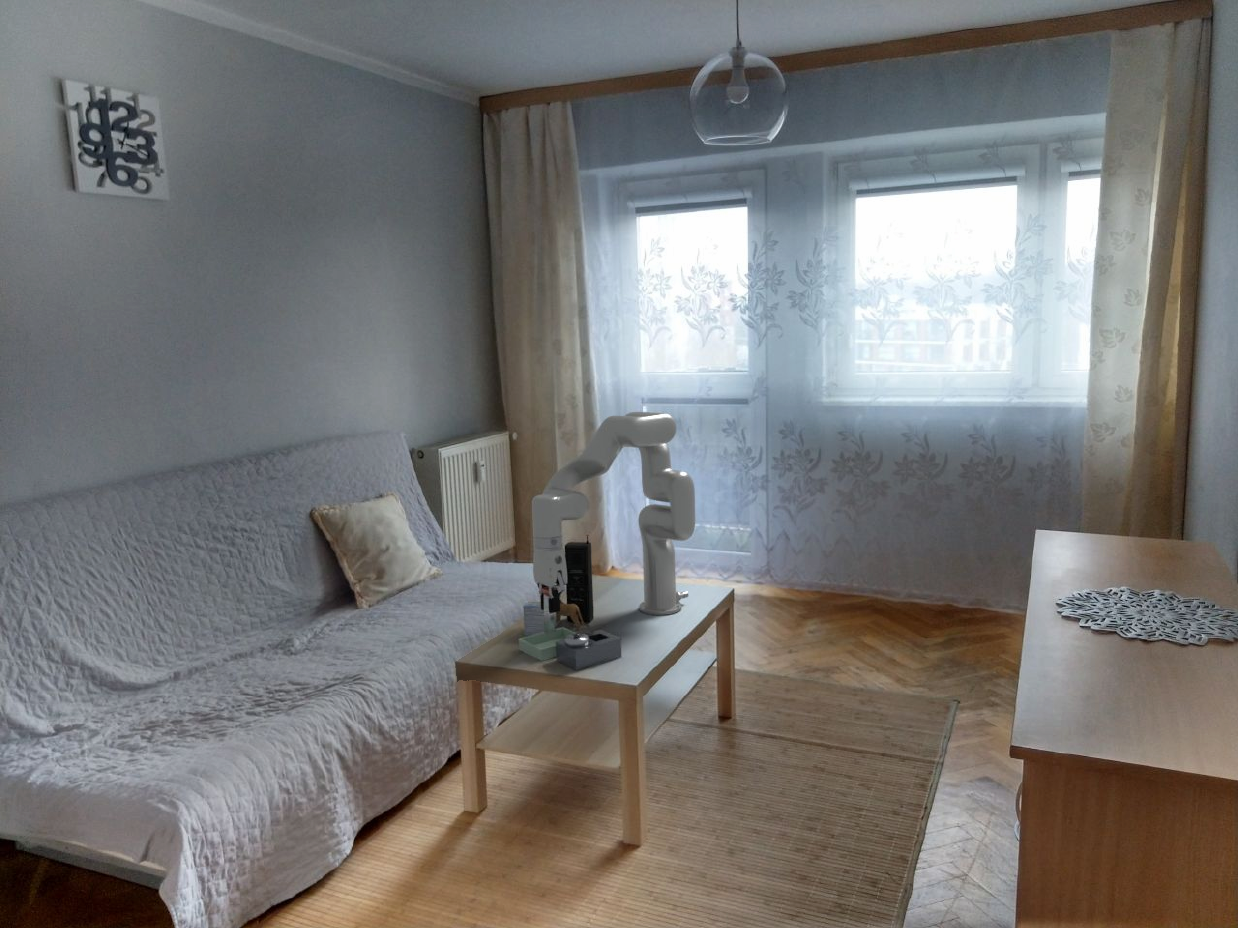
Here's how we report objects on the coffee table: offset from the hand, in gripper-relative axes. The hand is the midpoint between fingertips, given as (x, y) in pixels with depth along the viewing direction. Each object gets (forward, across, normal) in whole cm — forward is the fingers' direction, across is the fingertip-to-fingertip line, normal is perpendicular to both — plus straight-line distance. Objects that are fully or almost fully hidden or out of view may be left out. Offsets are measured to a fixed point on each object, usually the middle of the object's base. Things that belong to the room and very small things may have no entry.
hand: (550, 609), depth 239 cm
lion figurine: (+11, +14, -13) cm, 22 cm away
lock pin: (+6, 0, 0) cm, 6 cm away
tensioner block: (+11, -12, -3) cm, 17 cm away
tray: (+11, 0, 0) cm, 11 cm away
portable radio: (+11, +16, -19) cm, 27 cm away
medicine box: (+11, +12, -4) cm, 17 cm away
